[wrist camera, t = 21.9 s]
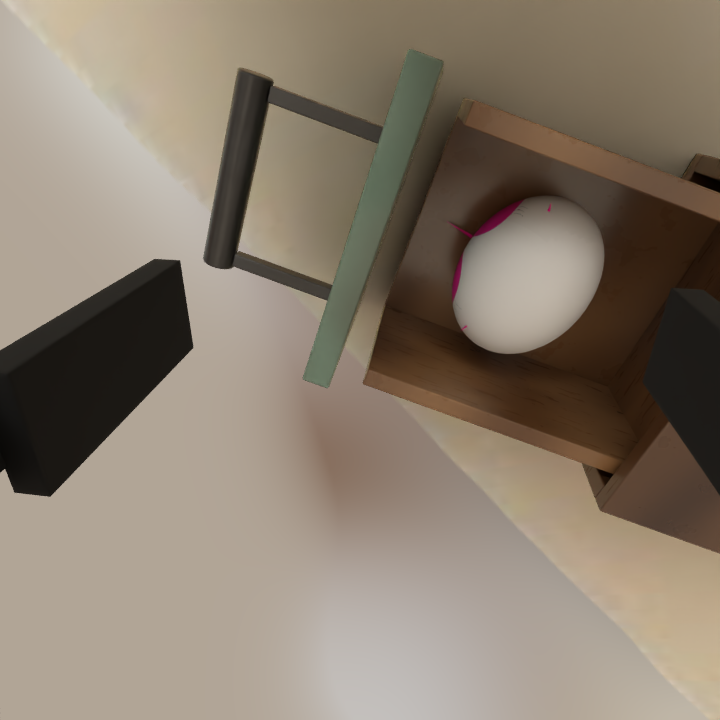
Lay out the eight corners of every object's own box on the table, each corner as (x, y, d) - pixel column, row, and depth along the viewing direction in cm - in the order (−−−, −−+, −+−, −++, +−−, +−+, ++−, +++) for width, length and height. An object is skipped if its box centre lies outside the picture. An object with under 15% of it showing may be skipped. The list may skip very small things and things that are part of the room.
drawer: (236, 269, 30) (165, 330, 22) (292, 13, 24) (220, -25, 16) (600, 401, 30) (655, 506, 23) (747, 186, 24) (889, 231, 17)
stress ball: (519, 168, 27) (466, 132, 22) (653, 252, 24) (628, 234, 19) (440, 286, 30) (377, 280, 25) (548, 374, 27) (502, 390, 22)
